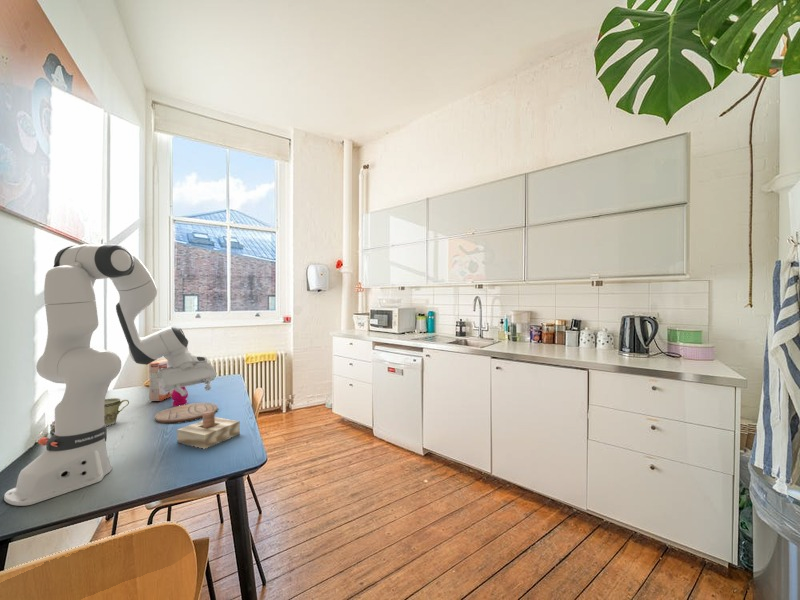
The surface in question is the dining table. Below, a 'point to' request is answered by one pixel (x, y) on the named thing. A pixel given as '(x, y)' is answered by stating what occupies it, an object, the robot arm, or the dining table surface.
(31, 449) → the dining table surface
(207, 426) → the peg
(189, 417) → the trivet
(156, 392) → the cracker box
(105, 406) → the ceramic cup
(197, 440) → the socket block
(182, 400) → the pepper mill
